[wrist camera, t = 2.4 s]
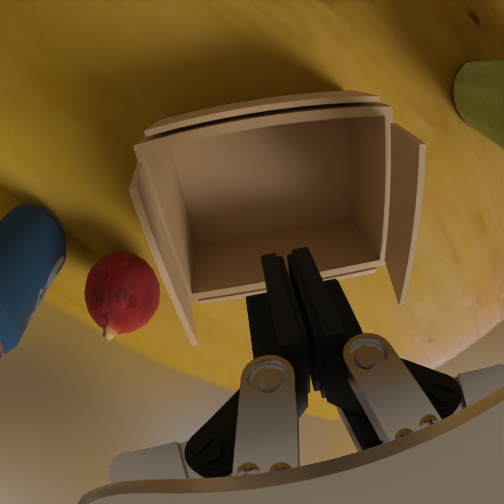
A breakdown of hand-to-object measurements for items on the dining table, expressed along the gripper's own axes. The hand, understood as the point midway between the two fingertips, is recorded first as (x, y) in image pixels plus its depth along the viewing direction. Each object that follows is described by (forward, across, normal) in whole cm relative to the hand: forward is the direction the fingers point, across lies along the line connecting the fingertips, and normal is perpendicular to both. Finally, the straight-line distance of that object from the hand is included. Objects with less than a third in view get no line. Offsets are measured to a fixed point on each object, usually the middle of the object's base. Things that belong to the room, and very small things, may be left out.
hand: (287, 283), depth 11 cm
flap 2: (+3, -6, 0) cm, 7 cm away
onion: (+12, +11, +5) cm, 17 cm away
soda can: (+12, +19, 0) cm, 23 cm away
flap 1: (+4, +5, 0) cm, 6 cm away
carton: (+12, -1, 0) cm, 12 cm away
